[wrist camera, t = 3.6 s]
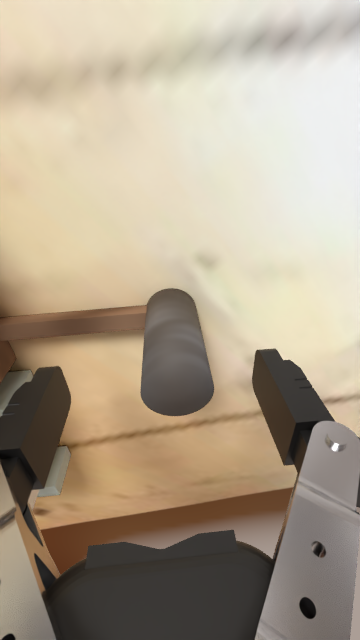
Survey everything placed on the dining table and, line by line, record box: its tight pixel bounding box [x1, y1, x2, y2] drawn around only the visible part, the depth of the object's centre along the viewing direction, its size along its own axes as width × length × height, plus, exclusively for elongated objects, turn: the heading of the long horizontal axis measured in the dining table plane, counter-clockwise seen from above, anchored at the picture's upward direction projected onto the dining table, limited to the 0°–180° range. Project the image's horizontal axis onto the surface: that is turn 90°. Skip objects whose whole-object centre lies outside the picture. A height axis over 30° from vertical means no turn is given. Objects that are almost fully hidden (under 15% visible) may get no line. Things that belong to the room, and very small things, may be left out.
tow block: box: [0, 289, 214, 416], centre depth 13 cm, size 18×5×6 cm, turn 93°
